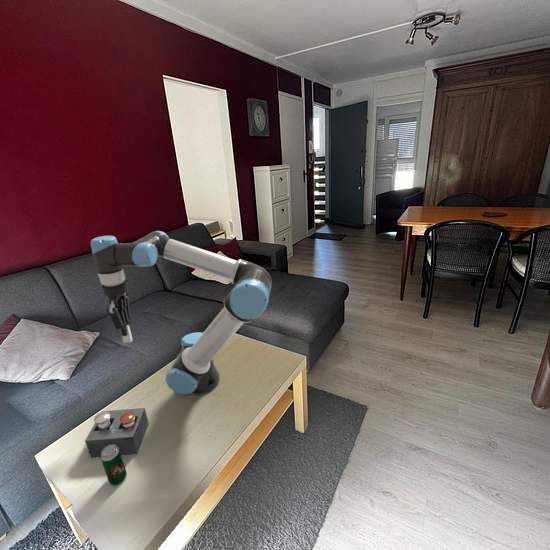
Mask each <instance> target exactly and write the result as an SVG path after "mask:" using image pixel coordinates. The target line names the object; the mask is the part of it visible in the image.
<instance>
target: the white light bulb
mask: <svg viewBox="0 0 550 550" xmlns="http://www.w3.org/2000/svg"><path fill="white" fill-rule="evenodd" d="M102 411H103V412H102ZM102 411H100V412H99V413H97V414H96V415H95V417H94V419H93V420H94V421H93V422H94V424H95V423H96V424H98V427H99V430H100V431H103V430H109V429H110V427H111V422H110V413H109V412H108V411H109V410H102Z"/></svg>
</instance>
